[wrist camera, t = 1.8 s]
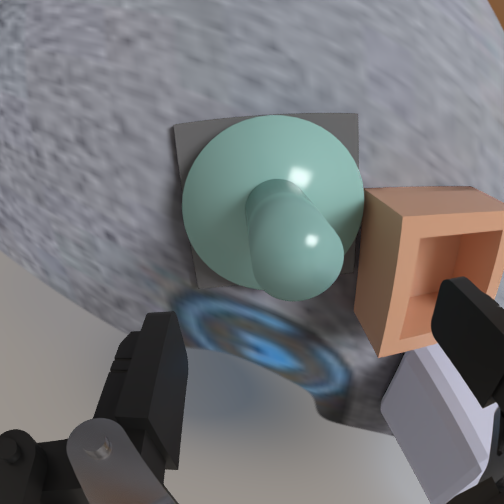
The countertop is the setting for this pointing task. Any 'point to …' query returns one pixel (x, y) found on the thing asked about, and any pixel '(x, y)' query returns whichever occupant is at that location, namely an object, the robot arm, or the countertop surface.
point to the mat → (202, 132)
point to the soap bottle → (438, 423)
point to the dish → (422, 258)
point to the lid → (274, 206)
